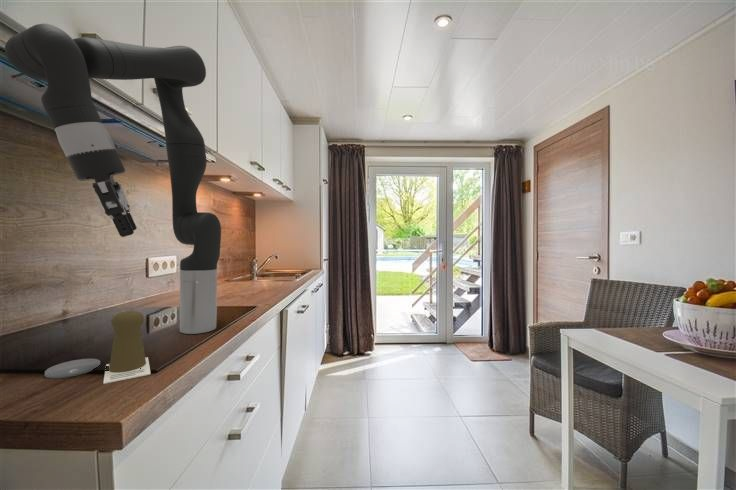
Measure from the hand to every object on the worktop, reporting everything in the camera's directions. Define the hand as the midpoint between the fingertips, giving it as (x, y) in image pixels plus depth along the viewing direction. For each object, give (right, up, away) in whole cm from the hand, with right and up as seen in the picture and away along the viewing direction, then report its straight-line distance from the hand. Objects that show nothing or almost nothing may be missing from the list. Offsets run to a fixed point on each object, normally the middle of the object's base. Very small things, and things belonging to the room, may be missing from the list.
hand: (129, 233), depth 64 cm
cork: (0, -27, 0) cm, 27 cm away
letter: (+1, -27, -1) cm, 27 cm away
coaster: (-10, -27, -2) cm, 29 cm away
